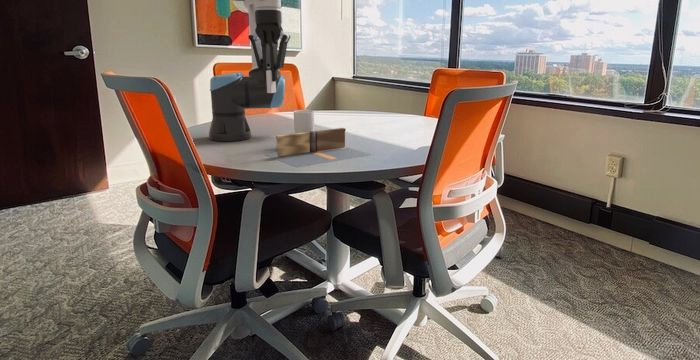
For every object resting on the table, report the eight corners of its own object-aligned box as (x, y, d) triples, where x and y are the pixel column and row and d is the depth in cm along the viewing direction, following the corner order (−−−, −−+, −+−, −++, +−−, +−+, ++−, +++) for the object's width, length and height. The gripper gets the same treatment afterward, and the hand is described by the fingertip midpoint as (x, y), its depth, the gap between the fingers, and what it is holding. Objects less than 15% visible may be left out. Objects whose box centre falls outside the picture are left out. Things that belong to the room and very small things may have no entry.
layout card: (262, 155, 144) (262, 153, 143) (334, 144, 159) (334, 143, 159) (296, 169, 127) (296, 167, 127) (372, 156, 143) (372, 154, 143)
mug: (316, 148, 154) (315, 112, 150) (295, 149, 152) (294, 112, 149) (311, 142, 163) (311, 108, 160) (292, 143, 162) (291, 108, 158)
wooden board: (307, 151, 146) (306, 132, 144) (310, 152, 144) (309, 132, 143) (276, 155, 140) (275, 135, 138) (279, 156, 138) (278, 136, 137)
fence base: (308, 151, 146) (307, 131, 144) (342, 146, 154) (342, 127, 152) (311, 152, 145) (311, 132, 143) (345, 147, 152) (345, 128, 150)
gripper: (241, 9, 132) (246, 92, 138) (281, 8, 127) (284, 94, 134) (255, 11, 138) (259, 90, 145) (294, 10, 134) (296, 92, 140)
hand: (271, 92), depth 139 cm, fingers closed
